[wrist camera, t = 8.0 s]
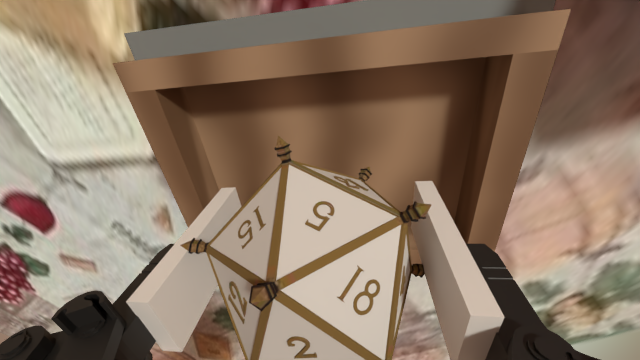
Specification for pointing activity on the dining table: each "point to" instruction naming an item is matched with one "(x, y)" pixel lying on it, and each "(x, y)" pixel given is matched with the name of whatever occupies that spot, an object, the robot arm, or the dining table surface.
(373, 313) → the game die
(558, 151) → the dining table surface
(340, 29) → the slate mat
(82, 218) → the dining table surface
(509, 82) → the brown wooden tray
